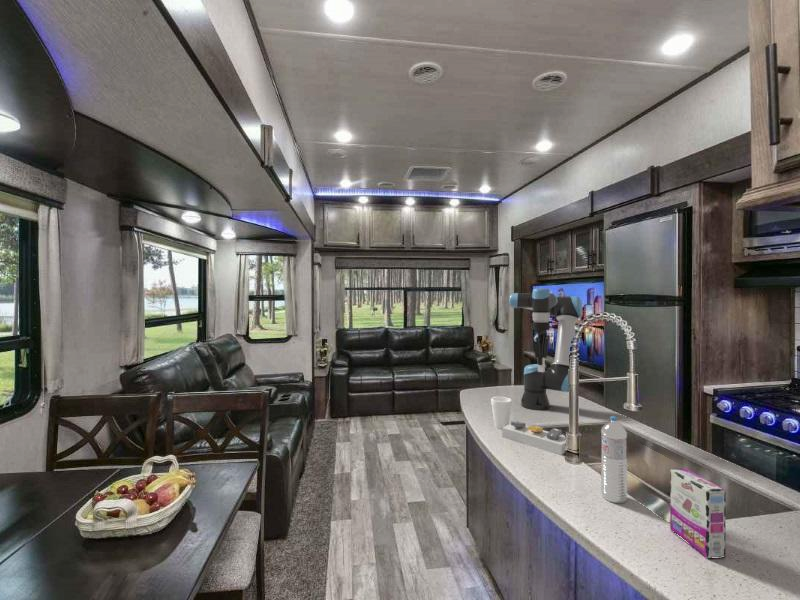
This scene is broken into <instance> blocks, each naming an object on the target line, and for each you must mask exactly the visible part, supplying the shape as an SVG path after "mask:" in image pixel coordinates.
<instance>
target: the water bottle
mask: <svg viewBox="0 0 800 600" xmlns="http://www.w3.org/2000/svg"><path fill="white" fill-rule="evenodd" d="M609 418H610V419H609V420H610V421H608V422H607V423H605V424H604V425H603V426H602V427H601V429H600V433H601V455H600V459H601V460H600V462H601V466H600V470H601V471H600V472H601V473H600V475H601V476H600V477H601V482H600V483H601V484H600V485H601V486H600V487H601V496H602V498H604V500H606V501H609V502H610V503H614V504H624V503H626V502H627V499H628V482H627V481H628V458H627V438H628V433H627V430H626V429H625V428H624V427H623V425H622V424H620V423H619V422H618V417H617V416H615V415H612V416H611V415H610V417H609Z"/></svg>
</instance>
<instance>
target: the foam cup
mask: <svg viewBox="0 0 800 600" xmlns="http://www.w3.org/2000/svg"><path fill="white" fill-rule="evenodd" d="M490 404H491V408H492V409H491V411H492V417H493V418H492V419H493V424H494V428H496V429H500V430H502V428H503V427H505V426H507V425H509V424H510V415H511V408H512V399H511V397H510V398H509V397H506V396H493V397H491V398H490Z"/></svg>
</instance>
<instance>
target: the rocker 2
mask: <svg viewBox="0 0 800 600" xmlns="http://www.w3.org/2000/svg"><path fill="white" fill-rule="evenodd" d="M548 432H549V433H548V434H547V438H550V439H553V440H556V439H557V438H558V437H559V436H560V435H563V431H562V429H559V428H554V427H551V429H550V431H548Z"/></svg>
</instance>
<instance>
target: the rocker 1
mask: <svg viewBox="0 0 800 600" xmlns="http://www.w3.org/2000/svg"><path fill="white" fill-rule="evenodd" d="M510 422H511V423H510V424H511V425H512V426H516V427H525V425H526V423H525V422H522V421H510Z"/></svg>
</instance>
